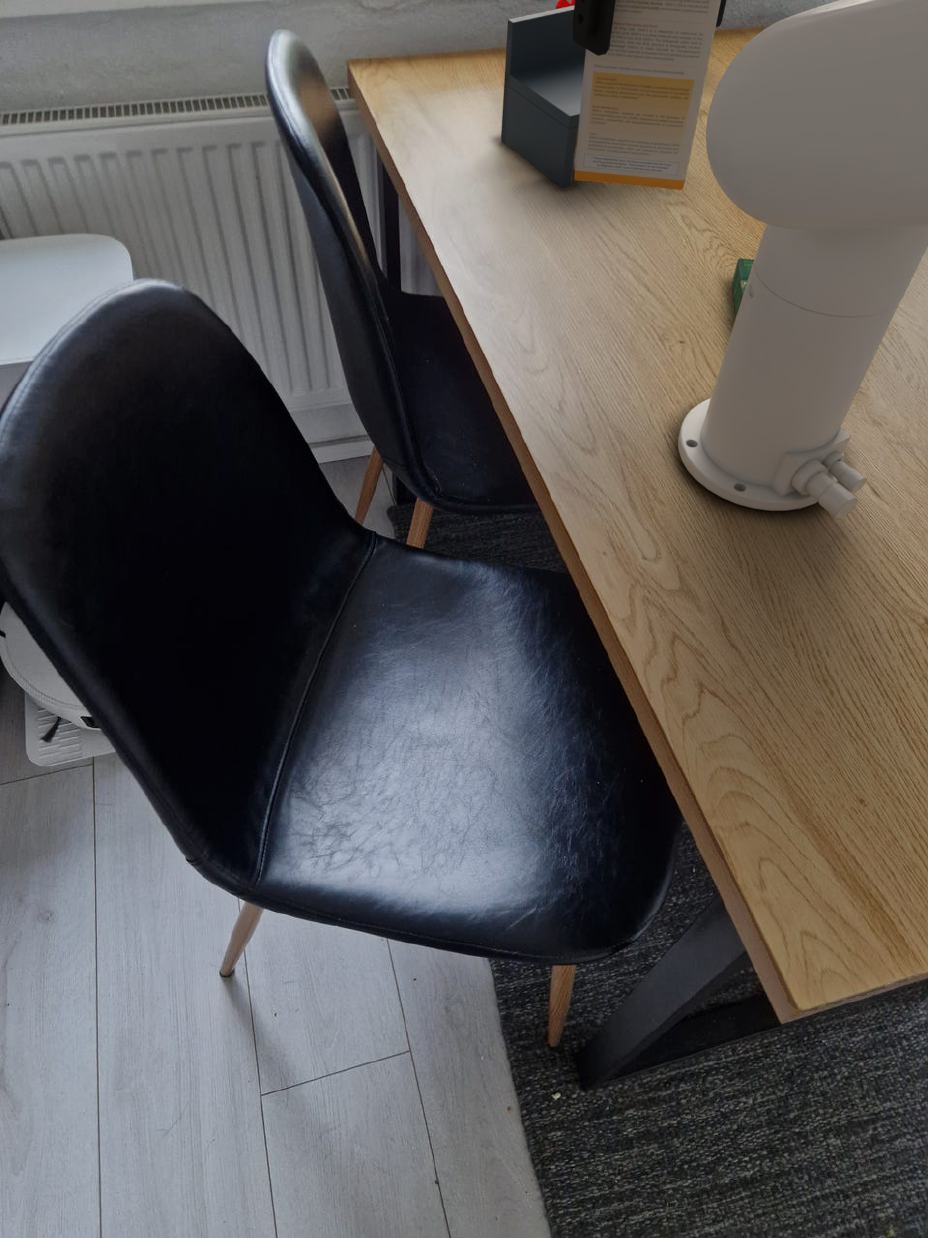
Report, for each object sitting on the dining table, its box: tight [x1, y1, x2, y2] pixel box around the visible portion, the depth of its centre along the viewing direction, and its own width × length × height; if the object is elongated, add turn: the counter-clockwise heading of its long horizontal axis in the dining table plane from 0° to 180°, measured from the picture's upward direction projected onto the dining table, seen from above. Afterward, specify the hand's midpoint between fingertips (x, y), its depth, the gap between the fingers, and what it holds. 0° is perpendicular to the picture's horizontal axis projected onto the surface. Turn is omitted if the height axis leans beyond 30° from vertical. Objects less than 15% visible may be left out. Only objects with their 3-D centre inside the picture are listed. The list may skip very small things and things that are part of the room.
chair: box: [500, 6, 586, 188], centre depth 94 cm, size 12×15×12 cm
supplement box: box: [574, 0, 721, 191], centre depth 61 cm, size 8×5×13 cm, turn 79°
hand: (647, 33), depth 59 cm, fingers closed on supplement box, 9 cm apart
